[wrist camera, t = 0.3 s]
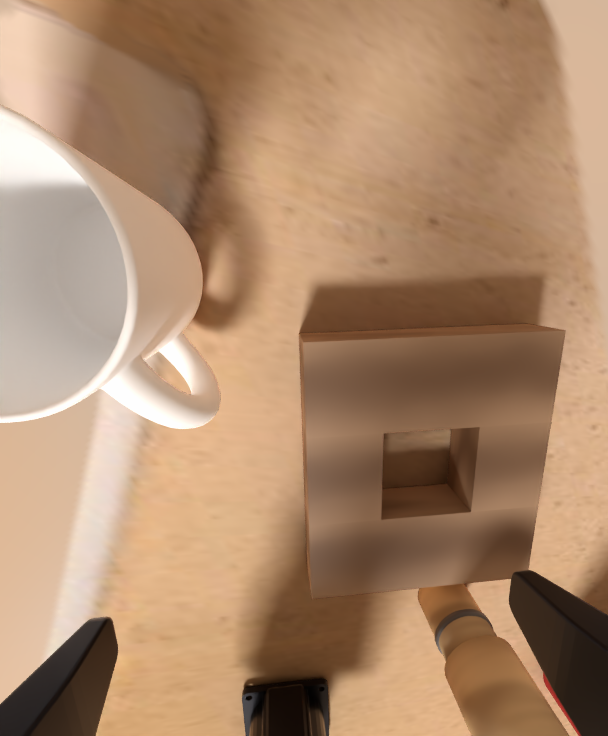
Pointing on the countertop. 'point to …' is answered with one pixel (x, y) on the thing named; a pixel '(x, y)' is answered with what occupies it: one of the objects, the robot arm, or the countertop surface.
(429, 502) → the board
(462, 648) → the peg
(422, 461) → the countertop surface
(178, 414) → the mug
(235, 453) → the countertop surface
